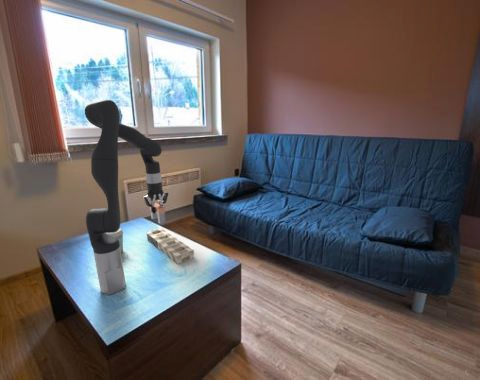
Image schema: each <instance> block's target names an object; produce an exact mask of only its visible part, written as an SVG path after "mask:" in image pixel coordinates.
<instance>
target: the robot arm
mask: <svg viewBox="0 0 480 380" xmlns="http://www.w3.org/2000/svg"><path fill="white" fill-rule="evenodd" d="M84 115H85V118H86V119H87V121H88V122H89V123H90V124H91V125H93V126H95V127H97V128H98V129H101V132H100V136H99V139H98V140H97V142H96V145H95V147H94V149H93V151H92V154H91V158H90V159H91V160H90V161H91V163H90V168H91V169H90V170H91V171H90V172H91V175H92V177H93V179H94V181H95V182H96V183H97V185H98V186H99V188H100V189H101V190H102V192H103V193H104V195H105V198H106V202H107V208H106V207H105V208H104V207H103V208H92V209H89V210H88V211H87V213H86V217H85V224H86V230H87V233H88V237H89V242H90V245H91V248H92V250H93V256H94V261H95V267H96V273H97V279H98V283H99V289H100V293H102V294H105V295H108V296H110V295H112V294H115V293H117V292H120V291H123V290H125V289H126V288H125V286H126V278H125V277H126V276H125V271H124V264H123V258H122V253H121V249H120V243H119V240H118V238H116V237H113V236H110V235H107V234H106V233H110V232H117V231H118V230H119V228H121V210H120V199H119V153H118V151H119V149H118V148H119V147H118V146H119V143H118V142H119V138H120V139H122V140H123V141H125V142H127V144H129V145H131V146H132V147H134V148H135V149H138V150H139V153H140V156H141V158H142V161H143V163H144V166H145V182H146V188H147V193H146V195H143V196H142V199H143V201H144V203H145V205H146V206H147V207H148V208H150V207H151V210H150V213H151V212H152V213H153V214H155V207H154V203H155V202H156V201H158V204H159V205H161V206H163V207H164V204H166V203H167V200H168V196H169V192H167V191H164V190H163V182H162V173H161V166H160V165H161V164H160V162H159V161H157V160H155V159H154V158H157V157H160V156H161V154H162V151H163V150H162V146H161V145H160V144H159V142H158V141H155V140H154V139H151V138H149V137H147V136H145V134H143V133H141V132H140V131H139V130H138V129H136V128H134V127H132V126H129V125H126V124H124V123H120V111H119V107H118V105H117V103H115V101H113V100H111V99H104V100H99V101H94V102H92V103H89V104H87V105H86V106H85V107H84ZM153 157H154V158H153Z"/></svg>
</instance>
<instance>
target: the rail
mask: <svg viewBox="0 0 480 380" xmlns="http://www.w3.org/2000/svg"><path fill="white" fill-rule="evenodd" d="M146 240H147V241H148V242H149V243H150V244H151V245H154V246H155V247H156V248H157V249H159V250H160V251H161V252H162V253H163V254H165V256H167V257H168V258H169V259H171V260H172V261H173V262H174V263H175V264H177V265H179V264H182V263H185V262H186V261H189V260H192V259H194V258H195V251H194V249H193V248H191V246H188V245H187V244H186V243H184V242H183V241H181V240H180V239H178V238H177V237H175V236H174V235H172V234H170V233H169V232H168V231H166V230H164V229H163V228H158V229H155V230H151V231H148V232H146Z"/></svg>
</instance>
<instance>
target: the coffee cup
mask: <svg viewBox="0 0 480 380" xmlns="http://www.w3.org/2000/svg"><path fill="white" fill-rule="evenodd" d="M106 234H107V235H110V236H113V237H116V238H118V240H119V243H120V249H121V252H122V253H123V251H124V236H123V234H124V231H123V229H122V228H121V227H120V228H119V230H118V231H117V232H110V233H106Z"/></svg>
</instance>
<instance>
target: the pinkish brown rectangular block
mask: <svg viewBox="0 0 480 380" xmlns="http://www.w3.org/2000/svg"><path fill="white" fill-rule="evenodd" d="M154 207H155V214H153V213H152V212H151V207H149V210H150V218H151V219H152V220H155V219H157V222H158V224H160V225H162V224H165V223H166V207H165V206H164V205H163V206H161V205H159V202H158V203H157V202H156V201H155V203H154Z"/></svg>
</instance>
